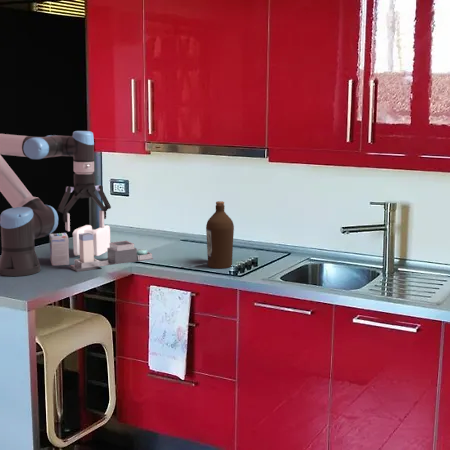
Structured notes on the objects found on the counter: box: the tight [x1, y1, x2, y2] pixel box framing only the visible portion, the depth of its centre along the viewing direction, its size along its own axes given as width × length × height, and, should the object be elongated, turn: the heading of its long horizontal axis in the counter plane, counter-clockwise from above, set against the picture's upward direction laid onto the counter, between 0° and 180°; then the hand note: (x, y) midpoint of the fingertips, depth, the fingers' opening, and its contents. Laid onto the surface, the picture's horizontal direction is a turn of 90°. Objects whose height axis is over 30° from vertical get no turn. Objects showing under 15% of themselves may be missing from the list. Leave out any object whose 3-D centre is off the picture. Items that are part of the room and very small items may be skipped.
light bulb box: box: [48, 232, 70, 266], centre depth 273 cm, size 11×7×11 cm, turn 18°
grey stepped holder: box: [69, 240, 154, 273], centre depth 269 cm, size 32×8×8 cm, turn 123°
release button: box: [137, 248, 148, 255], centre depth 276 cm, size 4×4×2 cm
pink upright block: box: [79, 233, 95, 263], centre depth 264 cm, size 4×5×12 cm
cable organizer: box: [72, 224, 111, 257], centre depth 286 cm, size 15×11×12 cm
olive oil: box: [205, 200, 235, 270], centre depth 266 cm, size 11×11×25 cm
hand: (85, 229), depth 262 cm, fingers open, 13 cm apart
